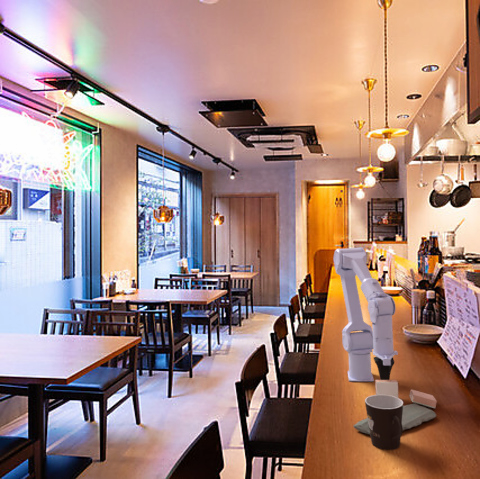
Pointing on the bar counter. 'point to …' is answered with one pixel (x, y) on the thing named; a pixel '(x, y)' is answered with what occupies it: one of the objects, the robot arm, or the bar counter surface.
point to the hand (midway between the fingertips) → (384, 382)
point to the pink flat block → (423, 398)
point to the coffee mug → (385, 420)
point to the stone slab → (404, 418)
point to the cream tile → (387, 387)
